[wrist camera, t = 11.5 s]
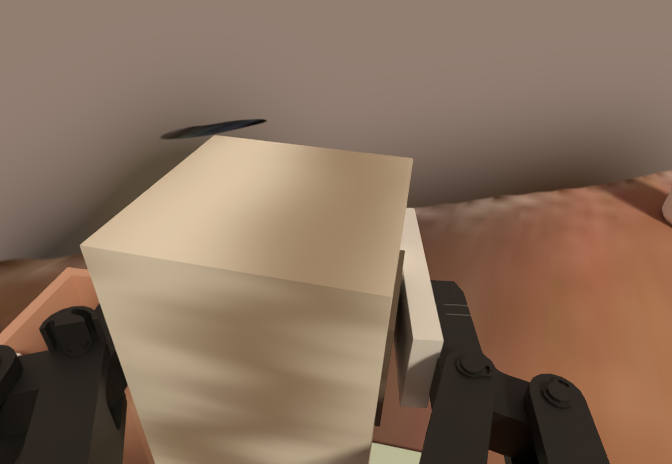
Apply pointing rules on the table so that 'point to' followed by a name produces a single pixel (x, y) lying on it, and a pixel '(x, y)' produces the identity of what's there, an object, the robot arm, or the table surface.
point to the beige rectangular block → (257, 301)
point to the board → (392, 455)
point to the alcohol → (668, 208)
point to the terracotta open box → (27, 339)
